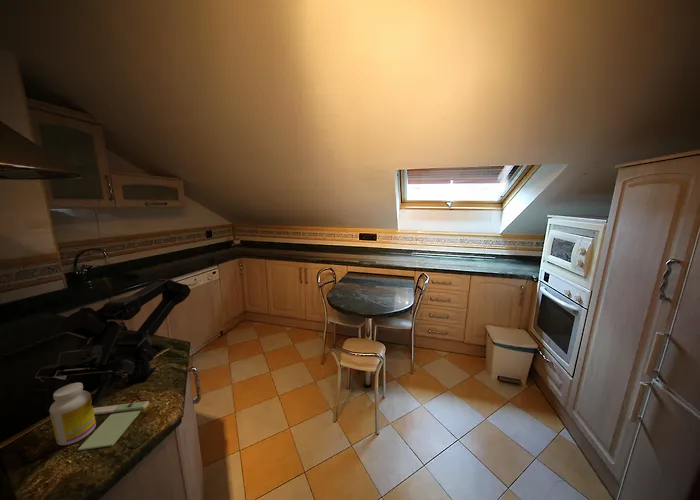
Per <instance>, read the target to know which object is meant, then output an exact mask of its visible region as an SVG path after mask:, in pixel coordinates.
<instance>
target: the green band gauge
mask: <svg viewBox="0 0 700 500" xmlns="http://www.w3.org/2000/svg"><path fill="white" fill-rule="evenodd" d="M149 404H150V400H149V401H139V402H138V401H137V402H128V403H120V404H116V405H115V404H114V405H108V406H107V405H106V406H101V407H93V410H94V415H96V416H97V415H104V414H105V415H106V414H110V415H108V417H107V418H106V419H105V420H104V421H103V422H102V423H101V424H100V425H99V426H98V427H97V428H96V429H95V431H93V432H92V434H91V435H90V436H89V437H87V439H86V440H85V441H84V442H83V443H82V444H81V445H80V446H79V447H78V449H77V451H78V452H79V451H86V450H91V449H98V448H105V447H106V448H107V447H112V446H114V444H115V443H116V442H117V441H118V440H119V439H120V437H122V435H123V434H124V433H125V432H126V430H127V429H128V428H129V426H130V425H131V424H132V423H133V422H134V420H135V419H136V418H137V416H138V415H139V414H140V413H141V410H145V409H146V408H147V407H148V406H149Z"/></svg>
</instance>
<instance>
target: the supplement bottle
mask: <svg viewBox="0 0 700 500" xmlns="http://www.w3.org/2000/svg"><path fill="white" fill-rule="evenodd" d="M83 389H84V385H83V383H82V382H73V383H70V384H69V385H66V386H64V387H62V388H60V389H58V390H57V391H55V392H54V394H53V397H54V400H55V402H54V403H53V404H52V405H51V407H50V410H49V411H48V412H49V415H50V419H51V424H52V427H53V433H54V438H55V441H56V444H57V445H59V446H68V445H71V444H75V443H77V442H79V441H81V440H82V439H84V438H86V437H87V436H88V435H90V434H91V433H93V432H94V430H95V428H96V426H97V421H96V416H95V415H94V410H93V408H94V406H91V404H92V401H93V399H92V396H91V395H92V394H91V393H90V392H89V391H88V390H83Z"/></svg>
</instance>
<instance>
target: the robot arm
mask: <svg viewBox="0 0 700 500" xmlns="http://www.w3.org/2000/svg"><path fill="white" fill-rule="evenodd" d="M190 293H191V288H190V286H189V285H188V284H185V283H180V282H178V281H175V280H173V279H170V278H159V279H156V280H155V281H154V282H152V283H150V284H148V285H147V286H144V287H143V288H142V289H140V290H138V291H135V292H133V294H131V295H128V296H124V297H123V296H122V297H119V298H116V299H113V300H110V301H107V302H105V304H104V305H102V307H100V308H98V309H96V310H95V309H93V308H92V307H85V306H83V307H82V306H81V307H80V309H79V310H78V311H75V312H73V313H72V314H70V315H68V317H65V318H64V319H63V321H62V322H61V325H60V330H61V331H62V332H63V333H67V334H70V335H72V336H77V337H78V338H79V337H80V338H83V339H88V341H87V343H86V344H82V345H81V346H80V347H79V349H78V350H77V349H76V350H70V351H63V352H59V355H58V359H57V362H56V364H51V365H50V364H49V365H45V366H43V367H41V368H40V369H39V370H38V371H37V373H36V375H35V377H34V378H35V379H39V381H40V382H42V383H43V382H44V384H45V386H46V389H47V390H46V391H47V393H46V407H45V410H46V411H47V412H50V411H49V410H50V407H51V405H52V404H53V403H54V402H55V400H54V397H53V394H54V392H55V391H57V390H58V389H60V388H62V387H64V386H66V385H69V384H72V383H71V382H72V380H70V379H71V378H73V376H79V375H88V374H90V375H91V374H98V373H99V374H100V382H99V384H98V386H97V389H96V391H95V393H94V396H93V398H92V404H91V406H93V407H94V406H97V405H98V404H99V402H100V401H101V400H102V399H103V398H104V397H105V396H106V395H107V394H108V393H109V392H110V391H111V390H112V389H113V388H114V387H115V386H116V385H117V384H118V383H119V382H120V381H121V380H122V379H124V378H126V379H124V380H123V384H131V383H139V382H141V383H142V382H146V381H147V380H148V379H149V378H150V377H151V376H152V375H153V374H154V373H155V371H156V370H157V367H152V364H151V361H153V360H154V358H155V357H156V356H157V351H158V349H156V348H154V347H152V346H153V340H152V339H153V336H154V335H155V334H156V332H157V331H158V330H159V328H160V327H161V325H162V324H163V323H164V322H165V320H166V319H167V317H168V316H169V315H170V314H171V312H172V310H174V308H175V307H176V306H177V305H178V304H181V303H183V302H184V301H185V300H186V299H188V297H189V296H190ZM160 295H161V297H162V298H161V300H160V302H159V303H158V304H157V306H156V307H155V308H154V309H153V311H151V313H150V315H149V316H148V317H147V318H146V320H145V321H144V322H143V323H142V324H141V325H140V327H138V329H137V330H136V332H134V333H125V334H124V335H123V337H121V339H120V340H119V342H117V340H118V338H119V335H120V333H121V332H127V331H128V327H127V325H126V324H125V322H117V321H130V320H132V319H133V318H134V317H135V316H136V315H138V313H140V312H141V310H142V307H143V306H144V305H145V304H147V303H149V302H150V301H153V299H155V298H157V297H158V296H160ZM116 342H117V343H116ZM115 345H116V346H115ZM112 353H113V358H114V359H110V360H109V358H110V356H111V354H112ZM155 369H156V370H155ZM152 373H153V374H152ZM151 374H152V375H151ZM150 375H151V376H150Z"/></svg>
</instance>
